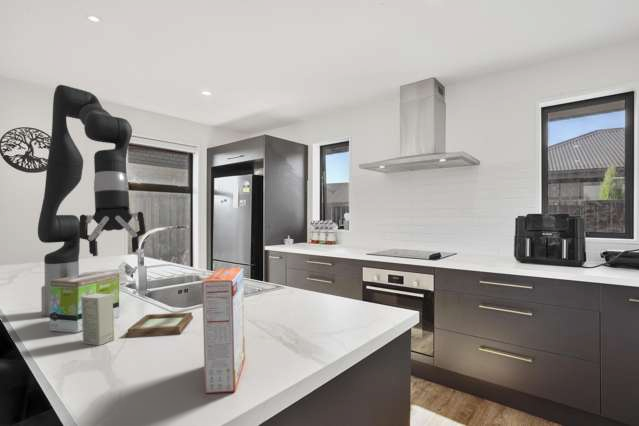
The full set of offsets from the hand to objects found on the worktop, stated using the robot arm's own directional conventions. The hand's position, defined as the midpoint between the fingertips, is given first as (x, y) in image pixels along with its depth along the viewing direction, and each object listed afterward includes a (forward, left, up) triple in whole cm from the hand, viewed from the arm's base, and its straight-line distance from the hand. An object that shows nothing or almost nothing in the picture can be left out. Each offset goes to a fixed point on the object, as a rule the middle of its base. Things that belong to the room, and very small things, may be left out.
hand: (115, 254), depth 84 cm
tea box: (-17, +19, -23) cm, 34 cm away
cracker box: (+30, -21, -23) cm, 44 cm away
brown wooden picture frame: (+7, +12, -23) cm, 27 cm away
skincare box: (-6, +3, -23) cm, 24 cm away
